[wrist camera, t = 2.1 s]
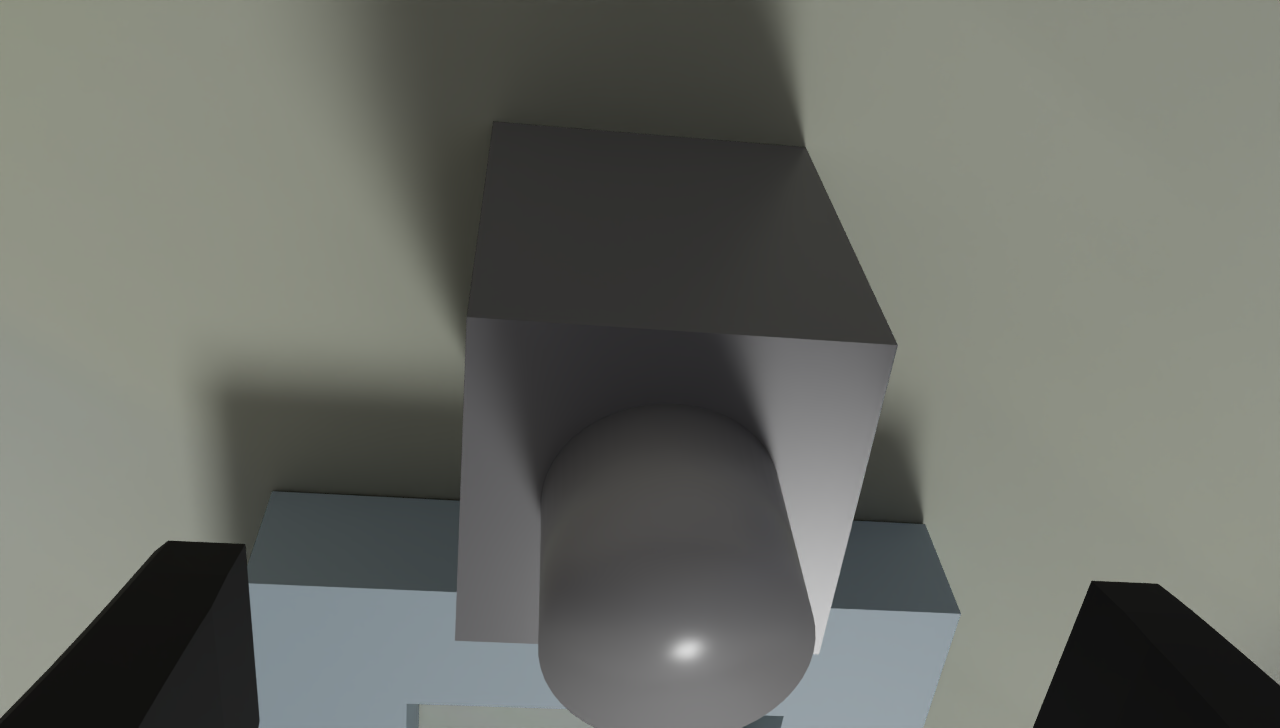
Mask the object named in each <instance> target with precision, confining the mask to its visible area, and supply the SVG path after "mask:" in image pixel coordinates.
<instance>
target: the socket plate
mask: <svg viewBox="0 0 1280 728" xmlns="http://www.w3.org/2000/svg"><path fill="white" fill-rule="evenodd" d="M459 515H460V501H454V500H434V499H415V498H395V497H375V496H355V495H335V494H316V493H296V492H276V491H272V493H271V496H270V499H269V502H268V505H267V508H266V511H265V514H264V517H263V520H262V523H261V526H260V529H259V532H258V535H257V538H256V541H255V544H254V547H253V550H252V553H251V556H250V559H249V562H248V565H247V570H248V583H249V595H250V607H251V619H252V631H253V644H254V656H255V668H256V680H257V693H258V705H259V717H260V722H259V727H258V728H418V723H419V704H433V705H463V706H493V707H524V708H554V709H566V708H565V707H564V706H563V705H562V704H561V703H560V702H559V701H558V699H557V698H556V697H555V696H554V694H553V693H552V692H551V690H550V688H549V687H548V685H547V683H546V681H545V679H544V676H543V674H542V671H541V668H540V663H539V657H538V644H525V643H499V642H472V641H455V624H456V597H457V569H458V542H459ZM960 615H961V613H960V610H959V608H958V605H957V603H956V600H955V598H954V595H953V593H952V590H951V588H950V585H949V583H948V580H947V578H946V575H945V573H944V570H943V568H942V565H941V563H940V560H939V558H938V555H937V553H936V550H935V548H934V545H933V543H932V540H931V538H930V535H929V533H928V530H927V528H926V525H925V524H910V523H890V522H870V521H853V523H852V527H851V531H850V535H849V539H848V543H847V546H846V550H845V554H844V558H843V562H842V566H841V570H840V574H839V578H838V582H837V586H836V590H835V594H834V598H833V601H832V605H831V609H830V613H829V617H828V621H827V625H826V629H825V633H824V637H823V641H822V645H821V649H820V653H819V654H813V656H812V659H811V662H810V664H809V667H808V669H807V671H806V673H805V674H804V676H803V678H802V680H801V681H800V682H799V684H798V685H797V686H796V688H795V689H794V690H793V691H792V693H791V694H790V695H789V696H788V697H787V698H786V699H785V700H784V701H783V702H782V703H780V704H779V705H778V706H777V707H776V708H774V709H773V710H772V711H770V712H769V713H767V714H766V715H764V716H763V717H761V718H760V719H758V720H756V721H754V722H752V723H750V724H748V725H746V726H744V727H742V728H923V727H924V724H925V721H926V718H927V714H928V711H929V708H930V705H931V702H932V699H933V696H934V693H935V690H936V687H937V684H938V681H939V678H940V675H941V672H942V669H943V666H944V663H945V660H946V657H947V654H948V651H949V648H950V645H951V642H952V639H953V636H954V633H955V630H956V627H957V624H958V621H959V618H960Z"/></svg>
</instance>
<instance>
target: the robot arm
mask: <svg viewBox="0 0 1280 728" xmlns="http://www.w3.org/2000/svg"><path fill="white" fill-rule="evenodd" d="M259 722H260V717H259V705H258V693H257V680H256V668H255V656H254V644H253V631H252V619H251V607H250V595H249V583H248V570H247V558H246V546H245V544H232V543H209V542H186V541H167V542H166V543H165V544H163V545H162V546H161V547H160V548H158V549H157V550H156V551H155V552H154V553H153V554H152V555H151V556H150V557H149V558H148V560H147V561H146V562H145V563H144V564H143V565H142V566H141V568H140V569H139V570H138V571H137V572H136V573H135V574H134V575H133V577H132V578H131V579H130V580H129V581H128V582H127V583H126V585H125V586H124V587H123V588H122V589H121V590H120V591H119V592H118V594H117V595H116V596H115V597H114V598H113V599H112V600H111V601H110V603H109V604H108V605H107V606H106V607H105V608H104V609H103V610H102V611H101V613H100V614H99V615H98V616H97V617H96V618H95V619H94V620H93V621H92V623H91V624H90V625H89V626H88V627H87V628H86V629H85V630H84V631H83V632H82V633H81V635H80V636H79V637H78V638H77V639H76V640H75V641H74V642H73V643H72V644H71V645H70V646H69V647H68V649H67V650H66V651H65V652H64V653H63V654H62V655H61V656H60V657H59V658H58V659H57V660H56V662H55V663H54V664H53V665H52V666H51V667H50V668H49V669H48V670H47V671H46V672H45V673H44V674H43V675H42V676H41V677H40V678H39V679H38V680H37V681H36V682H35V683H34V684H33V685H32V686H31V687H30V688H29V690H28V691H27V692H26V693H25V694H24V695H23V696H22V697H21V698H20V699H19V700H18V701H17V702H16V703H15V704H14V705H13V706H12V707H11V708H10V709H9V710H8V711H7V712H6V713H5V714H4V715H3V716H2V717H1V718H0V728H258V727H259ZM1033 728H1280V685H1278V684H1277V683H1276V682H1275V681H1274V680H1273V679H1272V678H1270V677H1269V676H1268V675H1267V674H1266V673H1265V672H1263V671H1262V670H1261V669H1260V668H1259V667H1258V666H1256V665H1255V664H1254V663H1253V662H1252V661H1251V660H1250V659H1248V658H1247V657H1246V656H1245V655H1244V654H1243V653H1241V652H1240V651H1239V650H1238V649H1237V648H1236V647H1234V646H1233V645H1232V644H1231V643H1230V642H1229V641H1227V640H1226V639H1225V638H1224V637H1223V636H1222V635H1220V634H1219V633H1218V632H1217V631H1216V630H1215V629H1213V628H1212V627H1211V626H1210V625H1209V624H1207V623H1206V622H1205V621H1204V620H1203V619H1201V618H1200V617H1199V616H1198V615H1197V614H1195V613H1194V612H1193V611H1192V610H1191V609H1189V608H1188V607H1187V606H1186V605H1184V604H1183V603H1182V602H1181V601H1179V600H1178V599H1177V598H1176V597H1174V596H1173V595H1172V594H1170V593H1169V592H1168V591H1167V590H1165V589H1164V588H1163V587H1161V586H1160V585H1159V584H1151V583H1128V582H1105V581H1091V584H1090V586H1089V589H1088V591H1087V594H1086V596H1085V599H1084V601H1083V604H1082V606H1081V609H1080V611H1079V614H1078V616H1077V619H1076V621H1075V624H1074V626H1073V629H1072V631H1071V634H1070V636H1069V639H1068V641H1067V644H1066V646H1065V649H1064V651H1063V654H1062V656H1061V659H1060V661H1059V664H1058V666H1057V669H1056V671H1055V674H1054V676H1053V679H1052V681H1051V684H1050V686H1049V689H1048V691H1047V694H1046V696H1045V699H1044V701H1043V704H1042V706H1041V709H1040V711H1039V714H1038V716H1037V719H1036V721H1035V724H1034V726H1033Z"/></svg>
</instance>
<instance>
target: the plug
mask: <svg viewBox="0 0 1280 728" xmlns="http://www.w3.org/2000/svg"><path fill="white" fill-rule="evenodd" d="M897 346H898V345H897V343H896V340H895V338H894V336H893V334H892V332H891V330H890V328H889V325H888V323H887V321H886V319H885V317H884V315H883V313H882V310H881V308H880V306H879V304H878V302H877V300H876V297H875V295H874V293H873V291H872V289H871V287H870V285H869V282H868V280H867V278H866V276H865V274H864V272H863V270H862V267H861V265H860V263H859V261H858V259H857V257H856V254H855V252H854V250H853V248H852V246H851V244H850V242H849V239H848V237H847V235H846V233H845V231H844V229H843V227H842V224H841V222H840V220H839V218H838V216H837V214H836V211H835V209H834V207H833V205H832V203H831V201H830V199H829V196H828V194H827V192H826V190H825V188H824V186H823V184H822V181H821V179H820V177H819V175H818V173H817V171H816V168H815V166H814V164H813V162H812V160H811V158H810V156H809V153H808V151H807V149H806V147H796V146H784V145H772V144H760V143H748V142H736V141H723V140H711V139H699V138H687V137H675V136H663V135H651V134H639V133H627V132H615V131H603V130H590V129H578V128H566V127H554V126H542V125H530V124H518V123H506V122H494V121H493V127H492V135H491V142H490V149H489V157H488V164H487V172H486V179H485V186H484V194H483V201H482V209H481V216H480V223H479V231H478V238H477V246H476V253H475V260H474V268H473V275H472V282H471V290H470V297H469V305H468V312H467V326H466V353H465V380H464V407H463V434H462V461H461V488H460V515H459V542H458V569H457V597H456V624H455V641H472V642H499V643H525V644H538V657H539V663H540V668H541V671H542V674H543V676H544V679H545V681H546V683H547V685H548V687H549V688H550V690H551V692H552V693H553V694H554V696H555V697H556V698H557V699H558V701H559V702H560V703H561V704H562V705H563V706H564V707H565V708H566V709H567V710H569V711H570V712H571V713H572V714H573V715H575V716H576V717H578V718H579V719H581V720H582V721H584V722H585V723H587V724H589V725H591V726H593V727H595V728H742V727H744V726H746V725H748V724H750V723H752V722H754V721H756V720H758V719H760V718H761V717H763V716H764V715H766V714H767V713H769V712H770V711H772V710H773V709H774V708H776V707H777V706H778V705H779V704H780V703H782V702H783V701H784V700H785V699H786V698H787V697H788V696H789V695H790V694H791V693H792V691H793V690H794V689H795V688H796V686H797V685H798V684H799V682H800V681H801V680H802V678H803V676H804V674H805V673H806V671H807V669H808V667H809V664H810V662H811V659H812V656H813V654H819V653H820V649H821V645H822V641H823V637H824V633H825V629H826V625H827V621H828V617H829V613H830V609H831V605H832V601H833V598H834V594H835V590H836V586H837V582H838V578H839V574H840V570H841V566H842V562H843V558H844V554H845V550H846V546H847V543H848V539H849V535H850V531H851V527H852V523H853V519H854V515H855V511H856V507H857V503H858V499H859V495H860V491H861V488H862V484H863V480H864V476H865V472H866V468H867V464H868V460H869V456H870V452H871V448H872V444H873V440H874V436H875V433H876V429H877V425H878V421H879V417H880V413H881V409H882V405H883V401H884V397H885V393H886V389H887V385H888V381H889V378H890V374H891V370H892V366H893V362H894V358H895V354H896V350H897Z"/></svg>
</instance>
